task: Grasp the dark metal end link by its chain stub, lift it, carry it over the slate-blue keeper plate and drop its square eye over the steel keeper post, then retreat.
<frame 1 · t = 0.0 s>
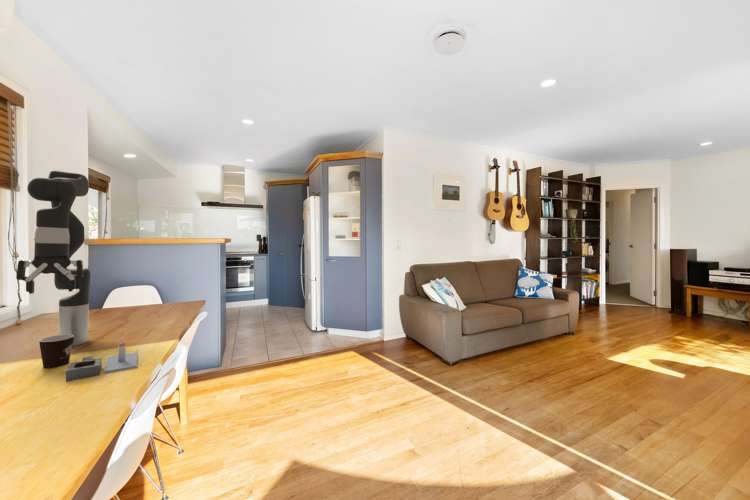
hand: (51, 292, 94), 29 cm above the table, fingers open, 8 cm apart
keeper: (121, 363, 111), on the table
coffee mug: (61, 364, 109), on the table
end link: (84, 374, 101), on the table
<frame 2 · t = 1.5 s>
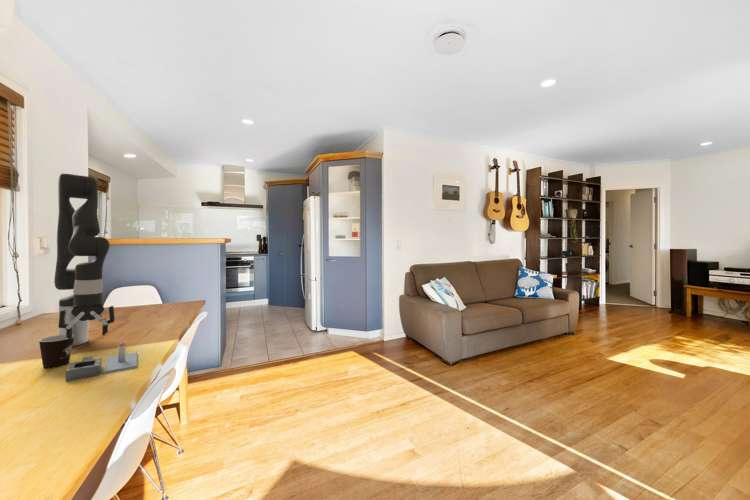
hand: (87, 336, 105), 11 cm above the table, fingers open, 8 cm apart
nothing on the table moved.
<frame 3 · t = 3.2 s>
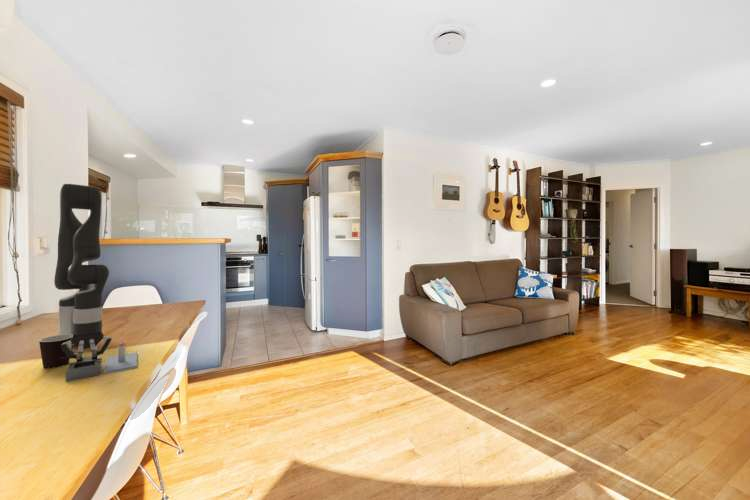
hand: (86, 367, 106), 0 cm above the table, fingers closed on end link, 2 cm apart
end link: (84, 374, 101), on the table, touching gripper
everything else where it was.
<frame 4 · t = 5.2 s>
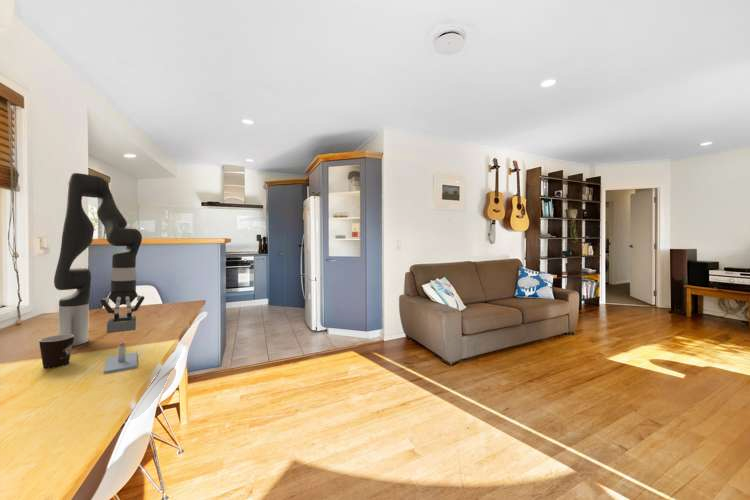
hand: (122, 322, 115), 14 cm above the table, fingers closed on end link, 2 cm apart
end link: (122, 328, 111), point 13 cm above the table, touching gripper
everything else where it was.
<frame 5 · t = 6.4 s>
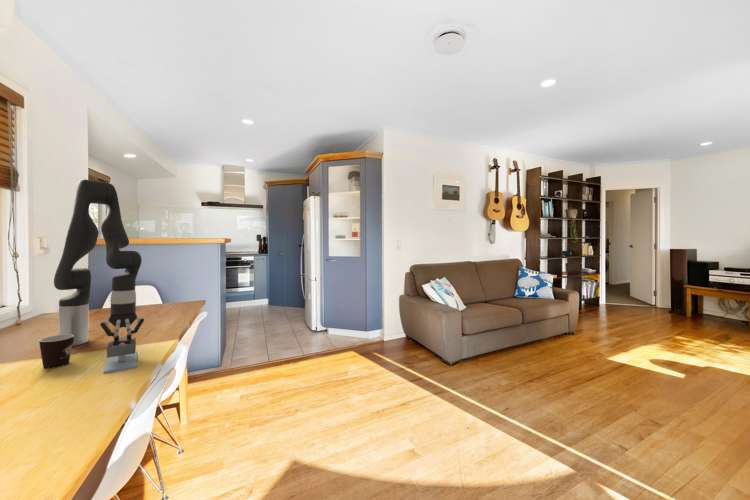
hand: (122, 344, 115), 5 cm above the table, fingers closed on end link, 2 cm apart
end link: (121, 351, 111), point 4 cm above the table, touching gripper
everything else where it was.
when the fingers open (2 cm above the table, at t = 7.2 s): end link stays where it is, resting on keeper.
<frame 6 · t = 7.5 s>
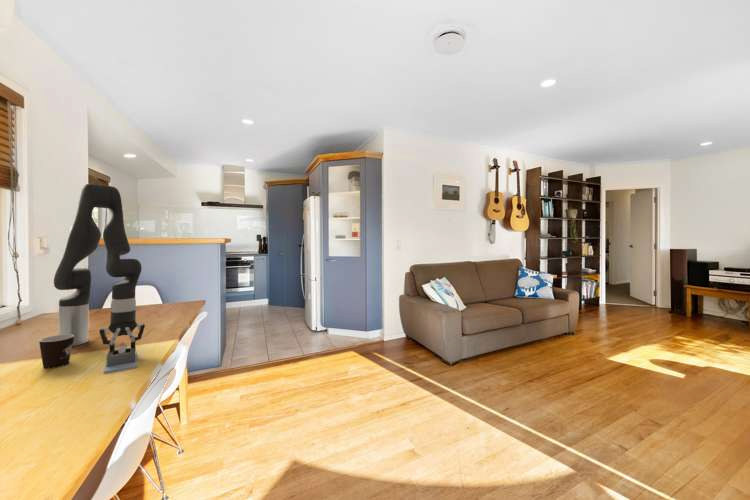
hand: (122, 352, 116), 2 cm above the table, fingers open, 5 cm apart
end link: (121, 360, 111), point 1 cm above the table, touching keeper
everything else where it was.
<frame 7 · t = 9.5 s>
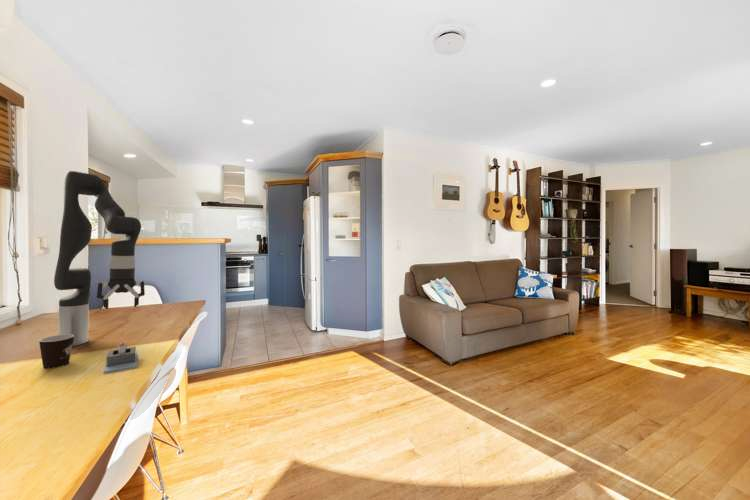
hand: (121, 307, 116), 20 cm above the table, fingers open, 8 cm apart
nothing on the table moved.
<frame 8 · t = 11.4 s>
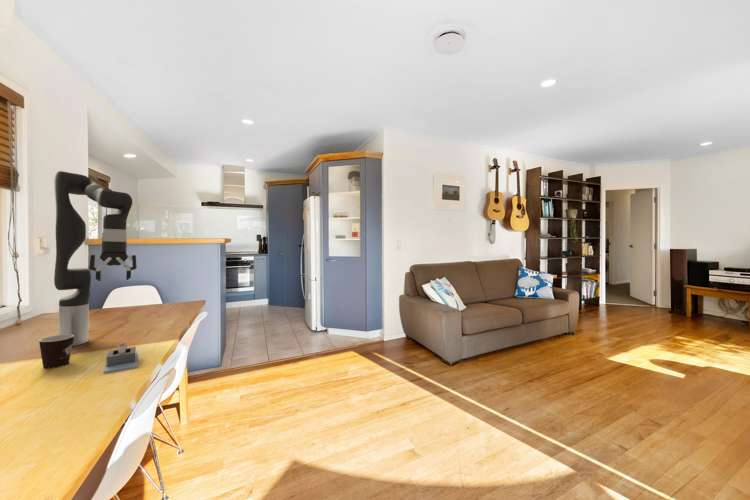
hand: (113, 280, 119), 30 cm above the table, fingers open, 8 cm apart
nothing on the table moved.
at the end: end link 0.4 cm from the keeper (horizontally); end link point 0.8 cm above the table; the gripper is holding nothing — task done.
